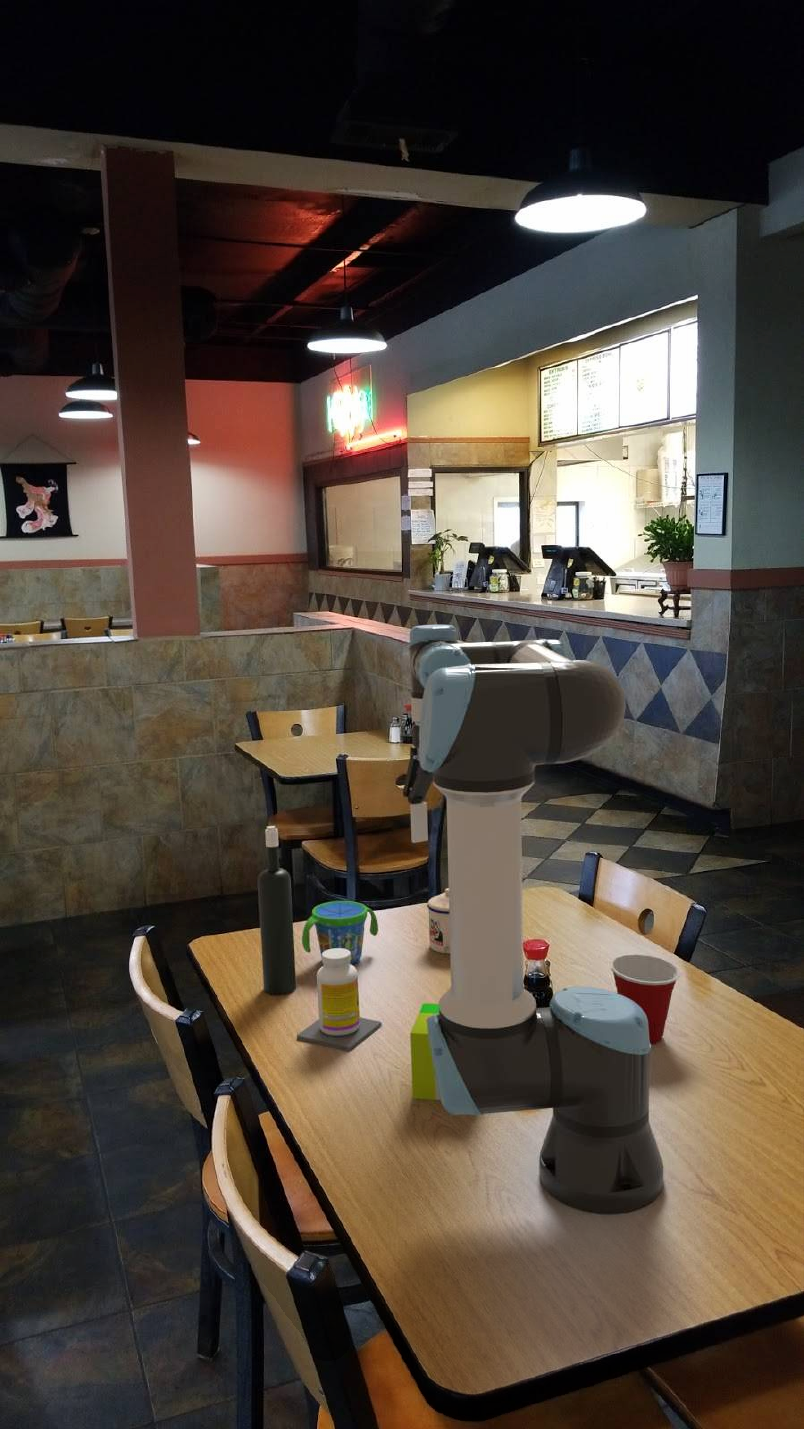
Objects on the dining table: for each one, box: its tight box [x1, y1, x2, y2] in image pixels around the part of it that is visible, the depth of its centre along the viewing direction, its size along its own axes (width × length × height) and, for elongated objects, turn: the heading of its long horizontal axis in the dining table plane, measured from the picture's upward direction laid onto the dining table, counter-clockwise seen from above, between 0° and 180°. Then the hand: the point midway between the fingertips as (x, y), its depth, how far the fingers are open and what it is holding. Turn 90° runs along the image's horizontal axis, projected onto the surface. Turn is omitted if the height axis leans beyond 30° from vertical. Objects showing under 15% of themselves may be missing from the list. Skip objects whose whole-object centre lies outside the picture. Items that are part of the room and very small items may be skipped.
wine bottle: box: [257, 825, 297, 996], centre depth 191 cm, size 6×6×30 cm
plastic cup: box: [609, 953, 682, 1046], centre depth 169 cm, size 11×11×12 cm
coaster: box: [296, 1016, 383, 1052], centre depth 176 cm, size 10×10×1 cm
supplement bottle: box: [316, 948, 361, 1036], centre depth 175 cm, size 7×7×13 cm
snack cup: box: [301, 900, 379, 965], centre depth 205 cm, size 16×10×10 cm
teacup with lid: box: [426, 887, 450, 955], centre depth 209 cm, size 12×9×12 cm
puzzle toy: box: [409, 1002, 441, 1101], centre depth 157 cm, size 10×10×10 cm
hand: (439, 851), depth 175 cm, fingers open, 13 cm apart
